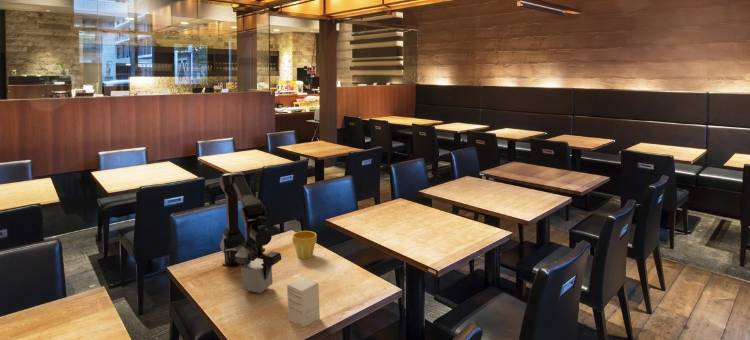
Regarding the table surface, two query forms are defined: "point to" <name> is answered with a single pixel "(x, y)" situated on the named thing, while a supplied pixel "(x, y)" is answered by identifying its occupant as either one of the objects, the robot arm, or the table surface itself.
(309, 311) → the supplement box
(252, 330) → the table surface
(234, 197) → the robot arm
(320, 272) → the table surface
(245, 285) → the grey cube
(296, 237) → the plant pot
